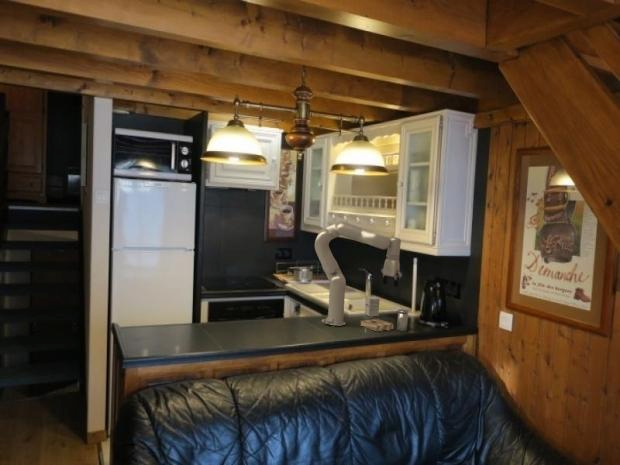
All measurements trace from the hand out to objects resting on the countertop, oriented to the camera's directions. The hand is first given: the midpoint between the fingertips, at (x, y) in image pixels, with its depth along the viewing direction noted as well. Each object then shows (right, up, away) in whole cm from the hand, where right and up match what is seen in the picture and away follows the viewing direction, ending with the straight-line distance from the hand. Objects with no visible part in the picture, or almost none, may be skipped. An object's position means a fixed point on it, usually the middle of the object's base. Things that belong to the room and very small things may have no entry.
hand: (390, 285), depth 304 cm
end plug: (+7, -27, -4) cm, 28 cm away
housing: (-9, -26, -3) cm, 28 cm away
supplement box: (-8, -24, +30) cm, 39 cm away
